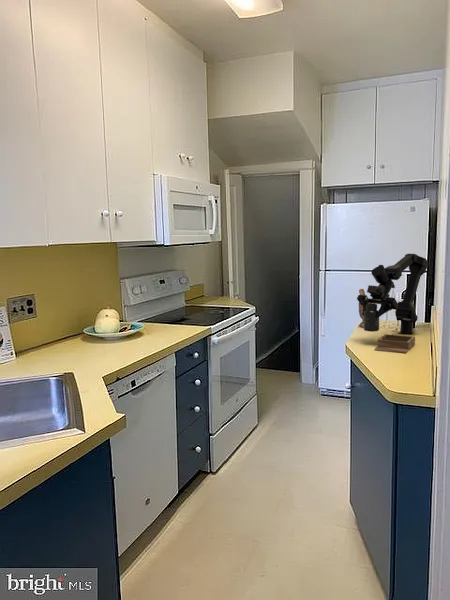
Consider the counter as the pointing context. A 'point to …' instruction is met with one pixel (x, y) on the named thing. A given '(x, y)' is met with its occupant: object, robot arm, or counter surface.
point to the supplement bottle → (371, 318)
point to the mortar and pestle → (362, 308)
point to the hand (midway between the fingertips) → (369, 316)
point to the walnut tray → (395, 343)
